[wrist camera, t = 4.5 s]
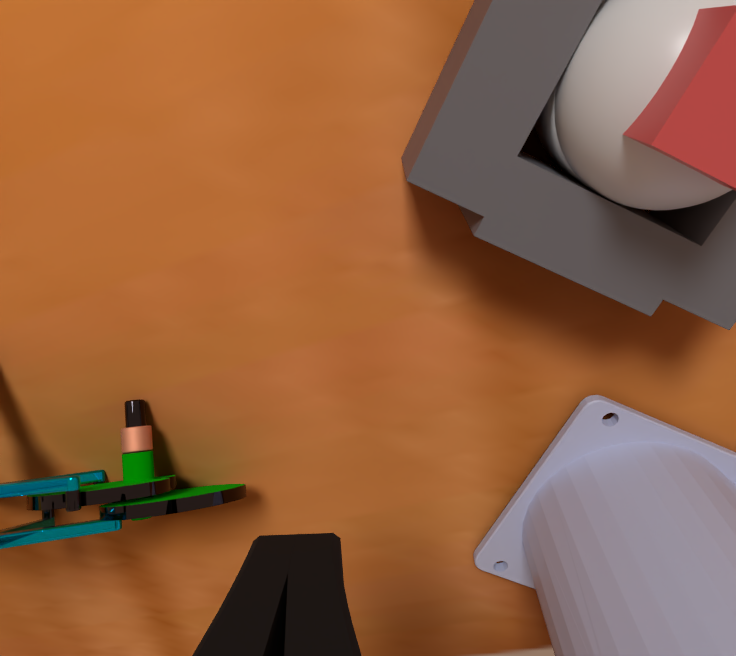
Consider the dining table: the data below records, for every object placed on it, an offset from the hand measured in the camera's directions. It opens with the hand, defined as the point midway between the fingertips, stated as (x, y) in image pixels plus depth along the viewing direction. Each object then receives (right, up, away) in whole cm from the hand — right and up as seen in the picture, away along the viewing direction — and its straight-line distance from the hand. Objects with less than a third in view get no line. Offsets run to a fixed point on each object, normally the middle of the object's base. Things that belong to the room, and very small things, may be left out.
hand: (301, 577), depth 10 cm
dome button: (+8, +10, +5) cm, 14 cm away
